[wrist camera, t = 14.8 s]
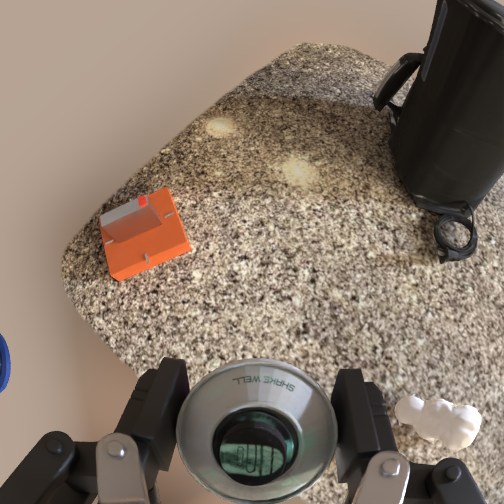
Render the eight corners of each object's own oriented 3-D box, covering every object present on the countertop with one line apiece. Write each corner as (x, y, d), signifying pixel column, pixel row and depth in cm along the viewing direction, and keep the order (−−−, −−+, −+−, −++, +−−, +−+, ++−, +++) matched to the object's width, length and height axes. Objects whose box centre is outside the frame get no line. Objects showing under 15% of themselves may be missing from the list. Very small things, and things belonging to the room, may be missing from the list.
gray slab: (118, 243, 41) (100, 226, 36) (116, 233, 42) (98, 215, 37) (161, 224, 42) (148, 203, 37) (158, 214, 43) (145, 192, 37)
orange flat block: (120, 285, 42) (110, 279, 39) (105, 224, 46) (97, 215, 43) (193, 253, 44) (188, 244, 41) (171, 193, 48) (165, 182, 45)
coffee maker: (441, 111, 53) (493, -10, 22) (515, 240, 41) (629, 135, 10) (356, 114, 53) (392, -45, 21) (433, 271, 41) (591, 124, 9)
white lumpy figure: (472, 457, 23) (398, 432, 26) (444, 448, 30) (379, 424, 34) (493, 410, 24) (422, 381, 28) (462, 408, 32) (399, 383, 36)
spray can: (304, 405, 24) (396, 477, 6) (249, 434, 23) (216, 562, 5) (273, 353, 26) (295, 312, 8) (218, 383, 25) (111, 407, 7)
